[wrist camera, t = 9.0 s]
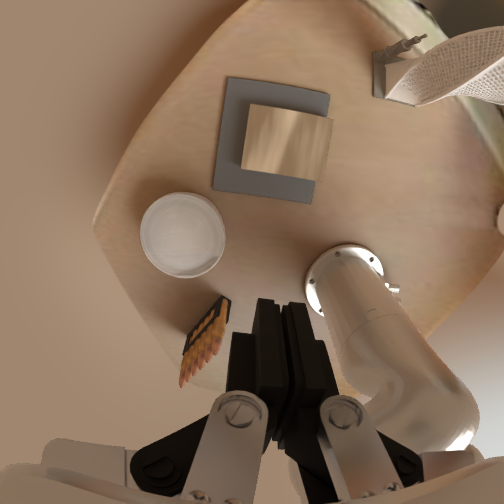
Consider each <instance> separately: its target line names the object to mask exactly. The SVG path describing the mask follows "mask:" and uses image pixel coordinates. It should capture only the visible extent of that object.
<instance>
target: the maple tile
mask: <svg viewBox="0 0 504 504" xmlns="http://www.w3.org/2000/svg"><path fill="white" fill-rule="evenodd" d="M333 120H334V119H330V118H326V117H321V116H317V115H312V114H308V113H303V112H298V111H292V110H287V109H281V108H275V107H269V106H262V105H255V104H250V110H249V117H248V123H247V130H246V137H245V144H244V150H243V157H242V164H241V169H246V170H253V171H260V172H267V173H273V174H279V175H285V176H291V177H297V178H303V179H308V180H314V181H319V182H323V177H324V171H325V166H326V161H327V155H328V150H329V144H330V138H331V132H332V127H333Z"/></svg>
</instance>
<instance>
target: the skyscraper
mask: <svg viewBox="0 0 504 504" xmlns="http://www.w3.org/2000/svg"><path fill="white" fill-rule="evenodd" d="M426 37H427V34H424V35H422V36H420V37H418V36H415V37H413V38H412V39H410V40H406V39H402V40H401V41H399V42H398V43H396V44H395V45H393V46H390V47H389V46H387V47H386V48H385V49H383V50H382V51H380V52H376V51H373V97H377V98H382V99H386V100H391V101H395V102H399V103H403V104H406V105H410V106H414V107H418V106H422V105H426V104H429V103H432V102H435V101H437V100H440V99H442V98H444V97H446V96H453V95H465V96H472V97H475V98H478V99H481V100H484V101H488V102H492V103H496V104H500V105H504V26H498V27H491V28H485V29H480V30H476V31H472V32H468V33H465V34H461V35H458V36H456V37H453V38H451V39H449V40H446V41H444V42H442V43H441V44H439V45H437V46H435V47H434V48H432V49H430V50H429V51H427V52H426V53H425V54H423V55H422V56H421V57H420V58H414V59H409V60H404V59H401V58H398V57H396V56H397V55H398V54H399V53H402V52H406V51H409V50H411V48H412V47H413V46H412V45H413V44H417V43H420V41H421V39H423V38H426Z"/></svg>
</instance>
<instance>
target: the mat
mask: <svg viewBox="0 0 504 504" xmlns="http://www.w3.org/2000/svg"><path fill="white" fill-rule="evenodd" d="M329 100H330V95H329V94H325V93H321V92H316V91H312V90H307V89H302V88H297V87H292V86H287V85H281V84H275V83H269V82H262V81H255V80H247V79H238V78H228V83H227V90H226V96H225V102H224V109H223V116H222V123H221V130H220V137H219V144H218V152H217V160H216V168H215V176H214V184H213V190H218V191H226V192H233V193H241V194H248V195H255V196H262V197H269V198H275V199H282V200H288V201H294V202H300V203H306V204H311V202H312V197H313V192H314V187H315V181H314V180H308V179H303V178H297V177H291V176H285V175H279V174H273V173H267V172H260V171H253V170H246V169H241V164H242V157H243V150H244V144H245V137H246V130H247V123H248V117H249V110H250V104H255V105H262V106H269V107H275V108H281V109H287V110H292V111H298V112H303V113H308V114H312V115H317V116H321V117H326V118H327V113H328V107H329Z"/></svg>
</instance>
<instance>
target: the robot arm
mask: <svg viewBox="0 0 504 504" xmlns="http://www.w3.org/2000/svg"><path fill="white" fill-rule="evenodd" d="M336 252H337V253H336ZM310 279H312V280H310ZM399 289H400V287H399V285H398V284H388V283H387V281H386V280H385V279H384V273H383V268H382V265H381V263H380V261H379V260H378V258H377V257H376V256H375V255H374V254H373V253H372V252H371V251H370V250H368V249H367V248H365V247H362V246H360V245H354V244H347V245H341V246H336V247H334V248H332V249H329V250H328V251H326V252H325V253H323V254H322V255H321V256H319V257H318V258H317V259H316V260H315V262H314V263H313V264H312V265H311V267H310V269H309V271H308V273H307V276H306V279H305V294H306V297H307V300H308V302H309V304H310V306H311V307H312V308H313V310H314V311H316V312H317V313H318V314H320V315H322V316H324V318H325V321H326V324H327V327H328V330H329V332H330V335H331V338H332V342H333V345H334V348H335V351H336V354H337V357H338V360H339V363H340V366H341V369H342V372H343V375H344V377H345V379H346V380H347V382H348V383H349V384H350V385H351V386H352V387H353V388H354V389H355V390H357V391H358V392H360V393H362V394H364V395H366V396H369V397H371V398H373V399H372V400H370V401H369V402H367V403H366V404H364V405H362V404H361V403H360V402H359V401H358V400H356V399H354V398H352V397H349V396H345V395H339V392H338V388H337V384H336V381H335V377H334V373H333V370H332V366H331V363H330V359H329V356H328V352H327V349H326V346H325V343H324V341H323V340H315V337H314V333H313V329H312V326H311V322H310V318H309V314H308V311H307V307H306V304H305V303H297V302H289V304H288V305H283V307H282V311H281V312H280V305H279V304H274V300H271V299H262V298H258V301H257V306H256V311H255V317H254V322H253V327H252V333H251V334H248V333H239V332H233V333H232V340H231V348H230V355H229V364H228V373H227V383H226V393H224V394H222V395H220V396H219V397H218V398H217V399H216V400H215V402H214V403H213V406H212V409H211V411H210V414H208V415H207V416H205V417H203V418H201V419H199V420H197V421H196V422H194V423H192V424H190V425H188V426H186V427H184V428H182V429H180V430H178V431H177V432H174V433H172V434H171V435H168V436H166V437H164V438H163V439H160V440H158V441H156V442H154V443H152V444H150V445H148V446H145V447H143V448H142V449H140V450H138V451H137V450H126V449H125V447H118V446H108V445H100V444H93V443H86V442H80V441H74V440H69V439H59V438H58V439H54V440H52V441H50V442H49V443H48V444H47V445H46V446H45V448H44V451H43V455H42V461H41V464H29V463H25V464H24V463H23V464H12V465H9V466H6V467H5V468H3V469H2V470H0V504H253V500H254V495H255V489H256V484H257V479H258V474H259V468H260V463H261V457H262V454H264V452H265V451H266V449H267V446H268V444H269V442H270V440H271V437H272V440H273V441H277V442H278V449H285V454H287V455H288V456H289V463H288V468H289V475H290V478H291V481H292V483H293V486H294V488H295V489H296V491H297V493H298V495H299V496H300V499H301V502H302V504H504V456H501V457H493V458H488V459H484V457H483V456H482V454H481V453H480V451H479V450H478V449H477V448H475V447H474V446H473V445H470V442H471V441H472V439H473V438H474V436H475V434H476V432H477V429H478V426H479V418H480V417H479V410H478V406H477V403H476V401H475V399H474V397H473V396H472V394H471V392H470V391H469V389H468V388H467V387H466V386H465V384H464V383H463V382H462V381H461V380H460V379H459V378H458V377H457V376H456V375H455V374H454V373H453V372H452V371H451V370H450V369H449V368H448V367H447V365H446V364H445V363H444V362H443V361H442V360H441V359H440V358H439V356H438V355H437V354H436V353H435V352H434V350H433V349H432V348H431V347H430V345H429V344H428V343H427V341H426V340H425V338H424V337H423V336H422V334H421V333H420V331H419V330H418V329H417V327H416V326H415V324H414V323H413V322H412V320H411V319H410V317H409V316H408V314H407V313H406V312H405V310H404V309H403V308H402V306H401V299H400V298H399V297H394V295H393V294H392V293H398V292H399Z"/></svg>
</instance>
